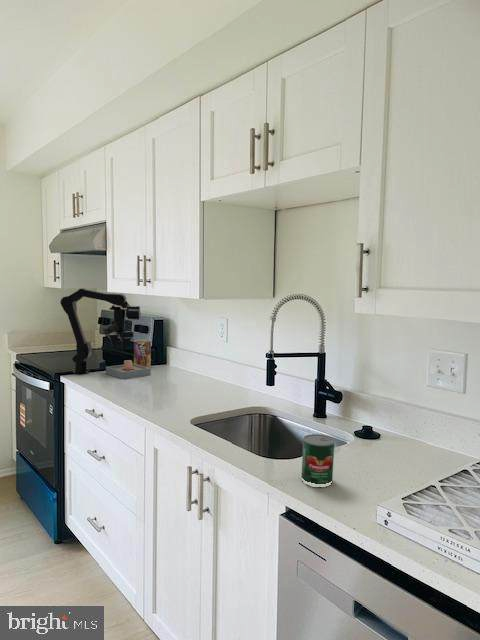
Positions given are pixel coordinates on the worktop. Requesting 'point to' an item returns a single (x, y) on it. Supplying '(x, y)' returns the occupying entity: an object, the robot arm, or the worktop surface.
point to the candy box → (142, 353)
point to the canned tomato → (318, 458)
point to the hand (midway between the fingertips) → (118, 349)
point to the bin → (135, 372)
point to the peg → (127, 365)
